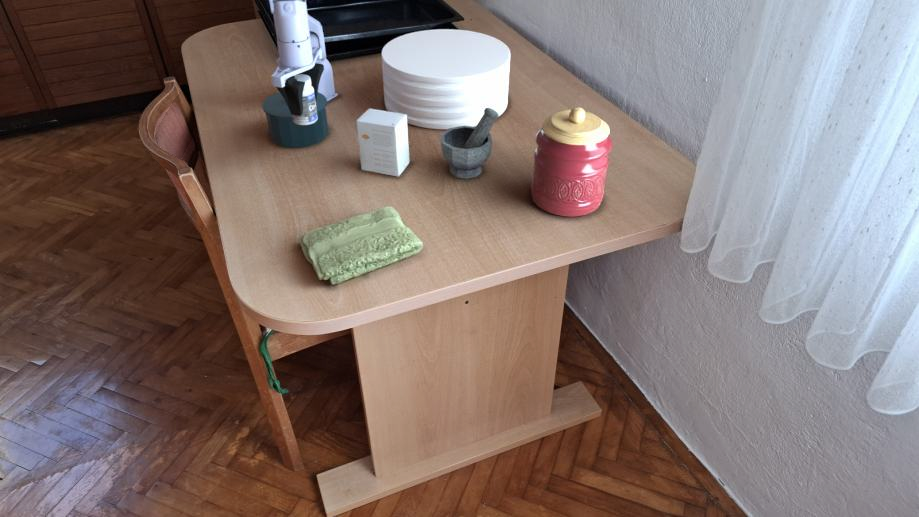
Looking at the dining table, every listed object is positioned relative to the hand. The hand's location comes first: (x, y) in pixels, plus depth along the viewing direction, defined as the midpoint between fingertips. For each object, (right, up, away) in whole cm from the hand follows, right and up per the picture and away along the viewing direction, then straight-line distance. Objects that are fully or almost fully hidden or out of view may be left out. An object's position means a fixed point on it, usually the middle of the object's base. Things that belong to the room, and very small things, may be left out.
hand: (304, 108), depth 124 cm
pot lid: (-4, +3, +9) cm, 10 cm away
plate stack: (+26, +8, +26) cm, 38 cm away
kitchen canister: (+49, -18, -5) cm, 52 cm away
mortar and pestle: (+31, -11, +2) cm, 33 cm away
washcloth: (+13, -27, -18) cm, 35 cm away
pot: (-4, -2, +13) cm, 14 cm away
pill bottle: (0, -2, +2) cm, 3 cm away
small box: (+15, -11, +3) cm, 19 cm away
